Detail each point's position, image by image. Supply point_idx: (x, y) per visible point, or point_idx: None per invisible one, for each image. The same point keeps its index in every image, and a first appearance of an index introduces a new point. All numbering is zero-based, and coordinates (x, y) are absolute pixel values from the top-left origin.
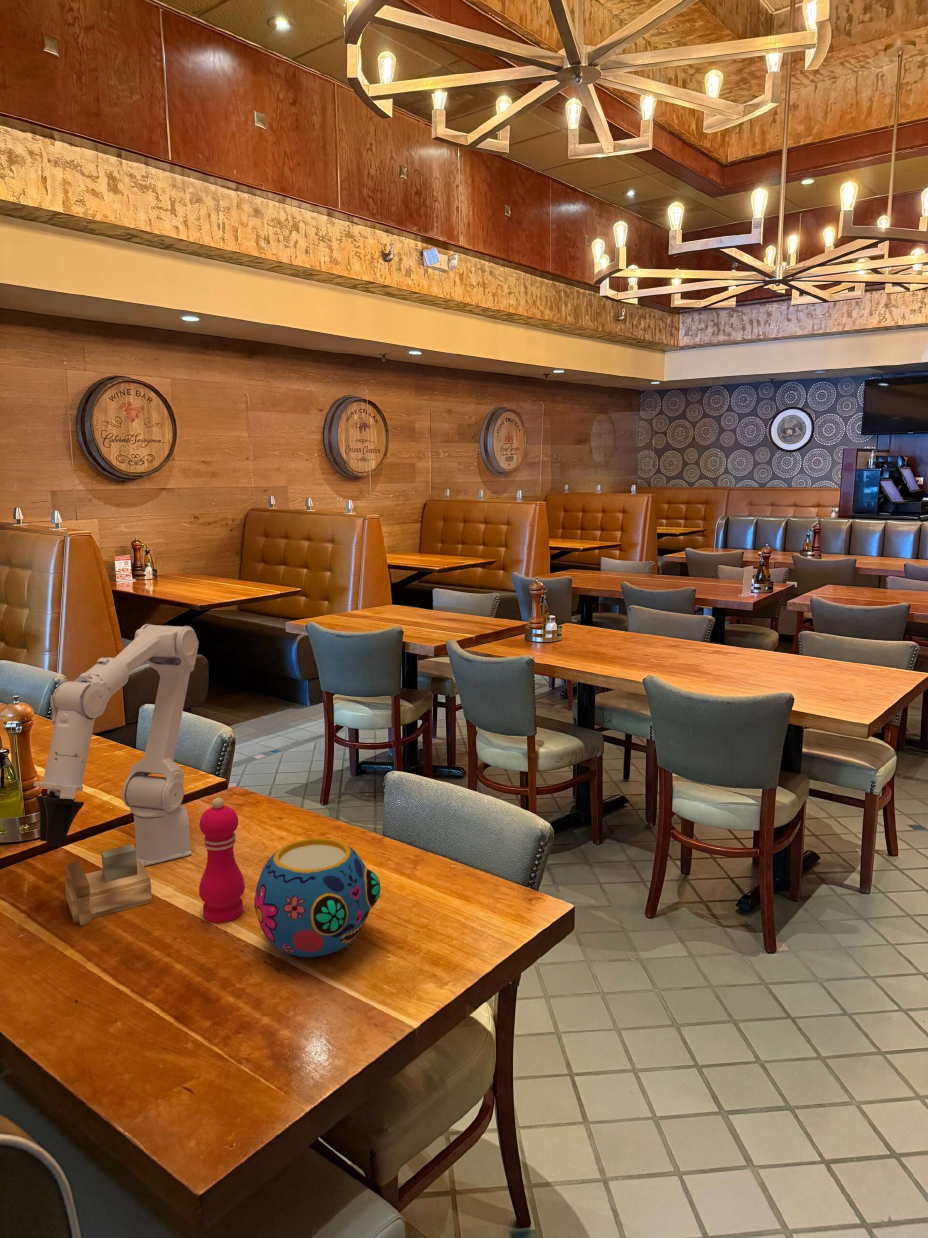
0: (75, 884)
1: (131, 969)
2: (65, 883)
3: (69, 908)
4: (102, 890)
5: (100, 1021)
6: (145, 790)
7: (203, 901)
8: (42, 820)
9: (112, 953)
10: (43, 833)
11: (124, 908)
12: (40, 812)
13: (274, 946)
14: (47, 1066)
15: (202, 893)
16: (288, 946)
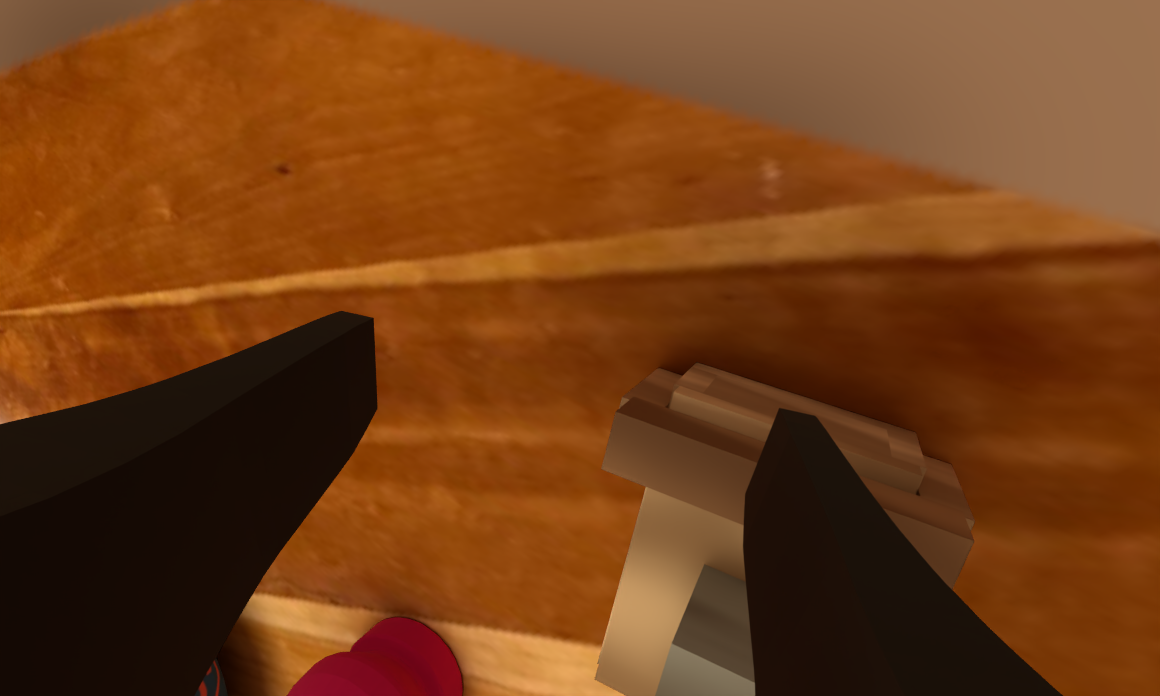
0: (650, 429)
1: None
2: (919, 465)
3: (826, 405)
4: (641, 510)
5: (189, 182)
6: None
7: (371, 655)
8: (825, 548)
9: (425, 350)
10: (783, 464)
11: None
12: (863, 611)
13: None
14: (120, 26)
15: (340, 670)
16: None
